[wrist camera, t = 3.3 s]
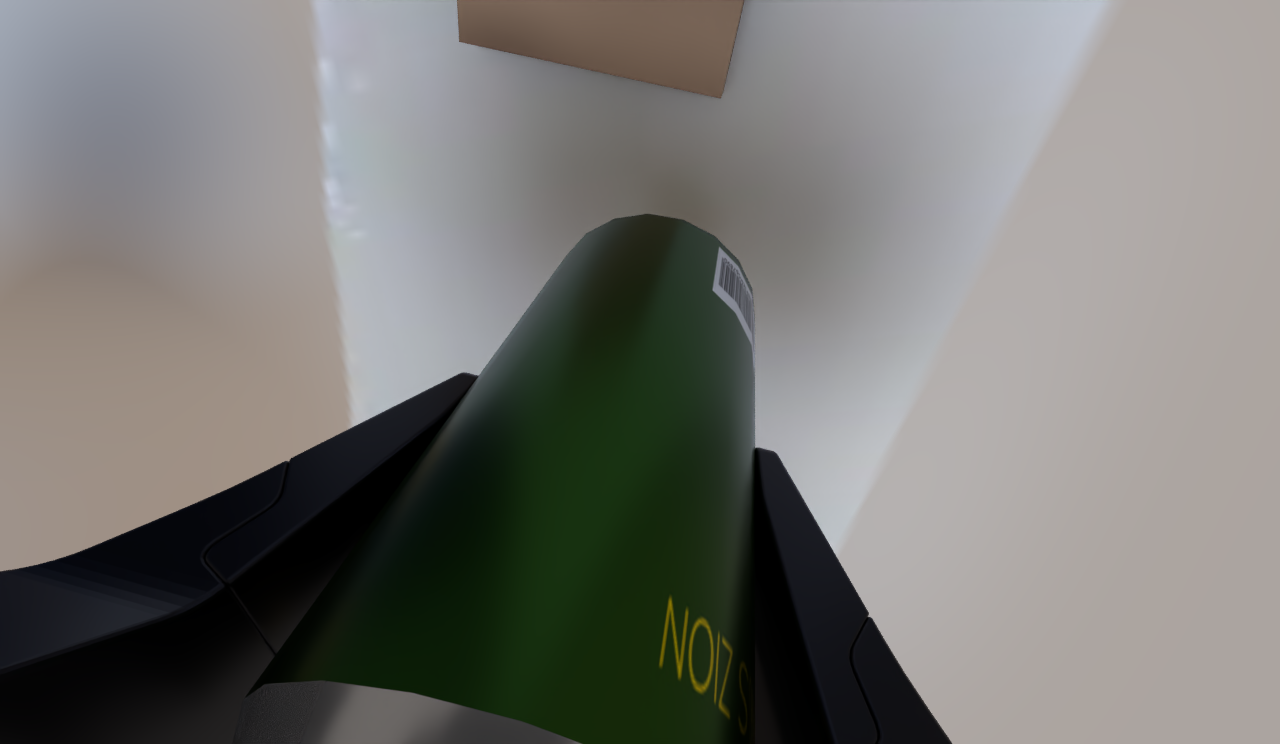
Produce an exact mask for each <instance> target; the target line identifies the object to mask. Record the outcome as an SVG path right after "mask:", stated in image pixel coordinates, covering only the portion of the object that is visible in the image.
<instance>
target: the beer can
mask: <svg viewBox="0 0 1280 744" xmlns="http://www.w3.org/2000/svg"><path fill="white" fill-rule="evenodd" d="M232 744H755V315H754V303H753V292H752V287H751V285H750V283H749V281H748V279H747V277H746V275H745V273H744V270H743V268H742V266H741V264H740V262H739V260H738V259H737V258H736V257H735V256H734V255H733V254H732V253H731V252H730V251H729V250H728V249H727V248H726V247H725V246H724V245H723V244H722V243H721V242H720V241H719V240H718V239H717V238H716V237H715V236H714V235H712V234H710V233H708V232H706V231H704V230H702V229H700V228H698V227H696V226H694V225H692V224H690V223H688V222H686V221H685V220H681V219H676V218H670V217H664V216H658V215H652V214H643V215H637V216H630V217H623V218H617V219H613V220H611V221H609V222H607V223H605V224H603V225H602V226H600V227H598V228H596V229H594V230H592V231H590V232H588V233H586V234H585V235H584V237H583V238H582V239H581V240H580V241H579V242H578V243H577V244H576V245H575V247H574V248H573V249H572V250H571V251H570V252H569V253H568V254H567V256H566V257H565V258H564V260H563V261H562V262H561V264H560V265H559V267H558V268H557V269H556V271H555V272H554V273H553V275H552V276H551V278H550V279H549V280H548V282H547V283H546V284H545V286H544V287H543V289H542V290H541V291H540V293H539V294H538V295H537V297H536V298H535V300H534V301H533V302H532V304H531V305H530V306H529V308H528V309H527V311H526V312H525V313H524V315H523V316H522V317H521V319H520V320H519V321H518V323H517V324H516V326H515V327H514V328H513V330H512V331H511V332H510V334H509V335H508V337H507V338H506V339H505V341H504V342H503V343H502V345H501V346H500V348H499V349H498V350H497V352H496V353H495V354H494V356H493V357H492V359H491V360H490V361H489V363H488V364H487V365H486V367H485V368H484V370H483V371H482V372H481V374H480V375H479V376H478V378H477V379H476V381H475V382H474V383H473V385H472V386H471V387H470V389H469V390H468V392H467V393H466V394H465V396H464V397H463V398H462V400H461V401H460V402H459V404H458V405H457V407H456V408H455V409H454V411H453V412H452V413H451V415H450V416H449V418H448V419H447V420H446V422H445V423H444V424H443V426H442V427H441V429H440V430H439V431H438V433H437V434H436V435H435V437H434V438H433V440H432V441H431V442H430V444H429V445H428V446H427V448H426V449H425V451H424V452H423V453H422V455H421V456H420V457H419V459H418V460H417V462H416V463H415V464H414V466H413V467H412V468H411V470H410V471H409V473H408V474H407V475H406V477H405V478H404V479H403V481H402V482H401V483H400V485H399V486H398V488H397V489H396V490H395V492H394V493H393V494H392V496H391V497H390V499H389V500H388V501H387V503H386V504H385V505H384V507H383V508H382V510H381V511H380V512H379V514H378V515H377V516H376V518H375V519H374V521H373V522H372V523H371V525H370V526H369V527H368V529H367V530H366V532H365V533H364V534H363V536H362V537H361V538H360V540H359V541H358V543H357V544H356V545H355V547H354V548H353V549H352V551H351V552H350V554H349V555H348V556H347V558H346V559H345V560H344V562H343V563H342V564H341V566H340V567H339V569H338V570H337V571H336V573H335V574H334V575H333V577H332V578H331V580H330V581H329V582H328V584H327V585H326V586H325V588H324V589H323V591H322V592H321V593H320V595H319V596H318V597H317V599H316V600H315V602H314V603H313V604H312V606H311V607H310V608H309V610H308V611H307V613H306V614H305V615H304V617H303V618H302V619H301V621H300V622H299V624H298V625H297V626H296V628H295V629H294V630H293V632H292V633H291V635H290V636H289V637H288V639H287V640H286V641H285V643H284V644H283V645H282V647H281V648H280V650H279V651H278V652H277V654H276V655H275V656H274V658H273V659H272V661H271V662H270V663H269V665H268V666H267V667H266V669H265V670H264V672H263V673H262V674H261V676H260V677H259V678H258V680H257V681H256V683H255V684H254V685H253V687H252V688H251V689H250V691H249V692H248V694H247V695H246V696H245V698H244V699H243V702H242V706H241V710H240V714H239V718H238V721H237V725H236V729H235V733H234V737H233V741H232Z"/></svg>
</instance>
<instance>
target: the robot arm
mask: <svg viewBox="0 0 1280 744" xmlns="http://www.w3.org/2000/svg"><path fill="white" fill-rule="evenodd" d="M477 378H478V376H477V375H474V374H470V373H460V374H458V375H456V376H454V377H452V378H450V379H448V380H446V381H444V382H442V383H440V384H438V385H436V386H434V387H432V388H430V389H428V390H426V391H424V392H422V393H420V394H418V395H416V396H414V397H412V398H410V399H408V400H406V401H404V402H402V403H400V404H398V405H396V406H394V407H392V408H390V409H388V410H386V411H384V412H382V413H380V414H378V415H376V416H374V417H372V418H370V419H368V420H366V421H364V422H362V423H360V424H358V425H356V426H354V427H352V428H350V429H348V430H346V431H344V432H342V433H340V434H338V435H336V436H335V437H333V438H331V439H328V440H326V441H324V442H322V443H320V444H318V445H317V446H314V447H312V448H310V449H308V450H306V451H304V452H303V453H301V454H298V455H297V456H295V457H293V458H291V459H290V461H289V462H288V461H285V462H282V463H281V464H278V465H276V466H274V467H272V468H270V469H268V470H266V471H264V472H262V473H260V474H258V475H256V476H254V477H252V478H250V479H248V480H246V481H243V482H242V483H239V484H237V485H235V486H233V487H231V488H229V489H227V490H224V491H222V492H220V493H217V494H215V495H213V496H211V497H208V498H206V499H204V500H202V501H199V502H197V503H195V504H192V505H190V506H188V507H185V508H183V509H181V510H178V511H176V512H174V513H171V514H169V515H167V516H164V517H162V518H159V519H157V520H155V521H152V522H150V523H148V524H145V525H143V526H140V527H138V528H135V529H133V530H131V531H128V532H126V533H124V534H121V535H119V536H116V537H114V538H112V539H109V540H107V541H104V542H102V543H100V544H97V545H95V546H93V547H90V548H88V549H85V550H83V551H80V552H77V553H75V554H72V555H69V556H66V557H63V558H59V559H56V560H53V561H49V562H46V563H42V564H38V565H34V566H29V567H24V568H19V569H14V570H6V571H0V744H232V741H233V737H234V733H235V729H236V725H237V721H238V718H239V714H240V710H241V706H242V702H243V699H244V698H245V696H246V695H247V694H248V692H249V691H250V689H251V688H252V687H253V685H254V684H255V683H256V681H257V680H258V678H259V677H260V676H261V674H262V673H263V672H264V670H265V669H266V667H267V666H268V665H269V663H270V662H271V661H272V659H273V658H274V656H275V655H276V654H277V652H278V651H279V650H280V648H281V647H282V645H283V644H284V643H285V641H286V640H287V639H288V637H289V636H290V635H291V633H292V632H293V630H294V629H295V628H296V626H297V625H298V624H299V622H300V621H301V619H302V618H303V617H304V615H305V614H306V613H307V611H308V610H309V608H310V607H311V606H312V604H313V603H314V602H315V600H316V599H317V597H318V596H319V595H320V593H321V592H322V591H323V589H324V588H325V586H326V585H327V584H328V582H329V581H330V580H331V578H332V577H333V575H334V574H335V573H336V571H337V570H338V569H339V567H340V566H341V564H342V563H343V562H344V560H345V559H346V558H347V556H348V555H349V554H350V552H351V551H352V549H353V548H354V547H355V545H356V544H357V543H358V541H359V540H360V538H361V537H362V536H363V534H364V533H365V532H366V530H367V529H368V527H369V526H370V525H371V523H372V522H373V521H374V519H375V518H376V516H377V515H378V514H379V512H380V511H381V510H382V508H383V507H384V505H385V504H386V503H387V501H388V500H389V499H390V497H391V496H392V494H393V493H394V492H395V490H396V489H397V488H398V486H399V485H400V483H401V482H402V481H403V479H404V478H405V477H406V475H407V474H408V473H409V471H410V470H411V468H412V467H413V466H414V464H415V463H416V462H417V460H418V459H419V457H420V456H421V455H422V453H423V452H424V451H425V449H426V448H427V446H428V445H429V444H430V442H431V441H432V440H433V438H434V437H435V435H436V434H437V433H438V431H439V430H440V429H441V427H442V426H443V424H444V423H445V422H446V420H447V419H448V418H449V416H450V415H451V413H452V412H453V411H454V409H455V408H456V407H457V405H458V404H459V402H460V401H461V400H462V398H463V397H464V396H465V394H466V393H467V392H468V390H469V389H470V387H471V386H472V385H473V383H474V382H475V381H476V379H477ZM868 615H869V612H868V611H867V609H866V607H865V605H864V604H863V602H862V600H861V598H860V597H859V595H858V593H857V592H856V590H855V588H854V586H853V585H852V583H851V581H850V579H849V578H848V576H847V574H846V572H845V571H844V569H843V568H842V566H841V564H840V562H839V560H838V559H837V557H836V555H835V553H834V552H833V550H832V548H831V546H830V545H829V543H828V541H827V539H826V538H825V536H824V534H823V533H822V531H821V529H820V527H819V526H818V524H817V522H816V520H815V519H814V517H813V515H812V513H811V512H810V510H809V508H808V507H807V505H806V503H805V501H804V500H803V498H802V496H801V494H800V493H799V491H798V489H797V487H796V486H795V484H794V482H793V480H792V479H791V477H790V475H789V474H788V472H787V470H786V468H785V467H784V465H783V463H782V461H781V460H780V458H779V456H778V455H777V454H776V453H775V452H774V451H770V450H766V449H762V448H755V744H952V743H951V741H950V740H949V738H948V737H947V735H946V734H945V732H944V731H943V729H942V728H941V727H940V725H939V723H938V722H937V721H936V719H935V718H934V716H933V715H932V713H931V712H930V710H929V709H928V707H927V706H926V704H925V703H924V701H923V700H922V698H921V697H920V695H919V694H918V692H917V691H916V689H915V688H914V686H913V685H912V683H911V682H910V680H909V679H908V677H907V676H906V674H905V673H904V671H903V669H902V668H901V666H900V664H899V663H898V661H897V660H896V658H895V656H894V655H893V653H892V652H891V650H890V648H889V646H888V645H887V643H886V641H885V640H884V638H883V636H882V635H881V633H880V631H879V630H878V628H877V626H876V624H875V622H874V621H873V619H872V618H871V617H868Z"/></svg>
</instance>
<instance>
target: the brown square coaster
mask: <svg viewBox="0 0 1280 744" xmlns="http://www.w3.org/2000/svg"><path fill="white" fill-rule="evenodd" d="M743 5H744V0H457V8H458V26H459V42H463V43H467V44H472V45H477V46H481V47H486V48H491V49H495V50H500V51H504V52H509V53H514V54H518V55H523V56H527V57H532V58H537V59H541V60H546V61H551V62H555V63H560V64H564V65H569V66H574V67H578V68H583V69H588V70H592V71H597V72H601V73H606V74H611V75H615V76H620V77H624V78H629V79H634V80H638V81H643V82H648V83H652V84H657V85H661V86H666V87H671V88H675V89H680V90H685V91H689V92H694V93H698V94H703V95H708V96H712V97H717V98H721V96H722V93H723V90H724V86H725V81H726V77H727V73H728V69H729V64H730V60H731V56H732V52H733V47H734V43H735V39H736V35H737V30H738V26H739V22H740V17H741V13H742V9H743Z"/></svg>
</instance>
